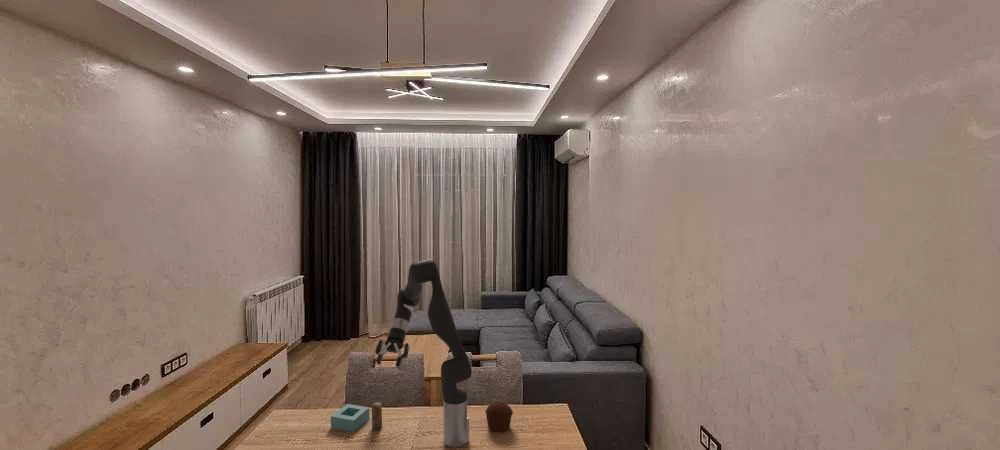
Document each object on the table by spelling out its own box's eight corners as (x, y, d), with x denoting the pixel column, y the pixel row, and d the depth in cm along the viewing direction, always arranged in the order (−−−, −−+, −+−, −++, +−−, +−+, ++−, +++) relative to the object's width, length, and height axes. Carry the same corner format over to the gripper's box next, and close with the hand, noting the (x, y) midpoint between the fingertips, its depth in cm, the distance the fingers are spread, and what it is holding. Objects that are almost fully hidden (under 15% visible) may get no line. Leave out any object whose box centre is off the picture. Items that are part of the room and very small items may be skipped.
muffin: (479, 425, 184) (479, 402, 184) (500, 417, 191) (500, 394, 190) (497, 438, 175) (497, 414, 174) (518, 428, 182) (518, 405, 181)
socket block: (347, 414, 193) (347, 403, 192) (369, 418, 189) (369, 407, 189) (331, 427, 182) (330, 416, 182) (354, 432, 179) (353, 420, 179)
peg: (380, 424, 185) (380, 401, 184) (383, 429, 181) (382, 405, 180) (371, 426, 183) (370, 403, 182) (373, 431, 179) (372, 408, 179)
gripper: (381, 325, 198) (369, 360, 189) (411, 328, 195) (400, 364, 186) (386, 332, 204) (375, 366, 195) (415, 335, 201) (405, 370, 192)
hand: (387, 365), depth 190 cm, fingers open, 8 cm apart
